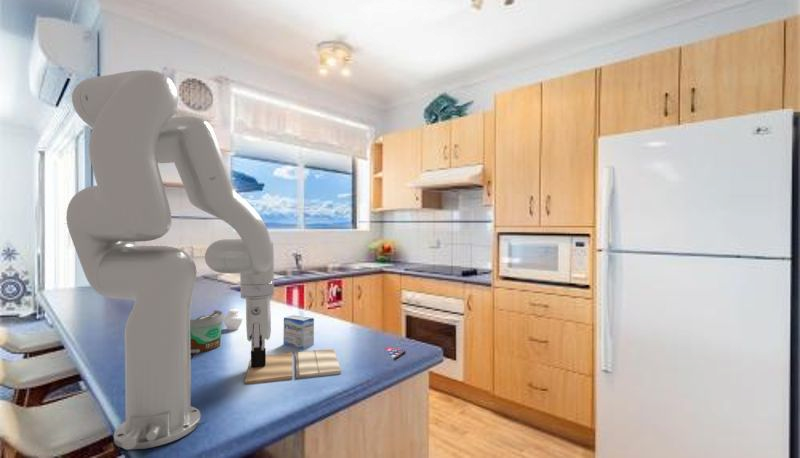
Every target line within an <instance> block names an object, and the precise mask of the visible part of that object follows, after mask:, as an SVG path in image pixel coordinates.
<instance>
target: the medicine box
mask: <svg viewBox="0 0 800 458" xmlns="http://www.w3.org/2000/svg"><path fill="white" fill-rule="evenodd" d="M282 343H283V346H288V347H291V348H297V349H302V350H303V349H304V350H305V349H307V348H309V347H312V346H314V345H315V318H313V317H307V316H303V315H295V314H293V315H289V316H286V317H283V342H282Z"/></svg>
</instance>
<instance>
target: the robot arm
mask: <svg viewBox="0 0 800 458" xmlns="http://www.w3.org/2000/svg"><path fill="white" fill-rule="evenodd" d="M177 91H178V90H177V88H176V85H175V84H174V82H173V81H172V80H171V78H169V77H168V76H167V75H165V74H164V73H161V72H158V71H155V70H149V69H143V70H140V69H138V70H131V71H124V72H119V73H113V74H107V75H102V76H101V75H100V76H94V77H89V78H86V79H84V80H81V81H80V82H79V83H77V84H76V86H75V87H74V88H73V90H72V93H71V103H72V106H73V110H74V111H75V113H77V115H78V117H79V118H80V119H81V120H82V121H83V122H84V123H85V124H86V125H88V126H89V127H90V128H91V132H90V136H89V141H88V153H89V154H88V155H89V160H90V164H91V166H92V170H93V176H94V179H95V182H96V185H92V186H88V187H86V188H82V189H81V190H79V191H78V192H77V193H75V194H74V195H73V197H72V198H71V199H70V200H69V202H68V206H67V207H66V208H67V210H66V224H67V228H68V232H69V235H70V238H71V241H72V244H73V247H74V250H75V251H76V255H77V257H78V260H79V263H80V266H81V268H82V270H83V271H82V272H83V273H84V276H85V278H86V281H87V282H88V284H89V286H90V287H91V288H92V289H93V291H95V292H96V294H98V295H99V296H102V297H104V298H107V299H113V300H121V301H122V300H123V301H125V300H126V301H134V304H133V307H132V309H131V311H130V313H129V316H128V318H127V320H126V323H125V324H126V325H125V328H124V374H125V376H124V391H125V393H124V394H125V395H124V396H125V401H124V402H125V406H124V407H125V408H124V409H125V421H123V422H122V423H121V424H120V425H119V426H118V427H117V428H116V429H115V430H114V433H113V442H114V444H115V445H116V446H117V447H119V448H122V449H124V450H126V451H127V450H129V451H130V450H145V449H152V448H155V447H160V446H163V445H167V444H169V443H172V442H175V441H177V440H179V439H181V438H183V437H185V436H187V435H189V434H190V433H192V432H193V431H194V430H195V429H196V428H197V427H198V426H199V425H200V421H201V417H202V415H201V411H200V410H199V409H198V408H196V407H195V406H192V405H191V403H192V402H191V400H192V398H191V397H192V396H191V394H192V391H191V390H192V388H191V387H192V386H191V385H192V384H191V382H192V381H191V374H192V373H191V367H192V366H191V365H192V364H191V355H190V320H191V312H192V311H191V310H192V302H193V301H192V300H193V295H194V290H195V285H196V282H197V266H196V263H195V261H194V259H193V257H191V256H190V255H189V254H188V253H187V252H185V251H184V250H182V249H180V248H178V247H177V248H176V247H173V246H167V245H137V244H136V243H137V242H150V241H156V240H157V239H158V240H159V239H160V238H162V237H164V236H165V235H167V233H168V232H169V231H170V228H171V226H172V212H171V208H170V203H169V200H168V195H167V193H166V189H165V186H164V185H165V184H164V182H163V178H162V175H161V171H160V167H159V164H171V163H172V164H173V163H174V166H175V168H176V171H177V172H178V176H179V177H180V180H181V182H182V185H183V188H184V191H185V193H186V195H187V198H188V200H189V203H190V204H191V205H192V206H194V207H195V208H197V209H199V210H201V211H203V212H205V213H207V214H208V215H211V216H213V217H216V218H217V219H219V220H221V221H223V222H225V223H226V224H228V225H229V226H230V227H231V228H233V230H234V231H235V232H236V233H237V235H239V237H240V238H236V239H234V238H225V239H219V240H216V241H214V242H212V243H210V245H208V247H207V249H206V251H205V252H204V253H205V254H204V260H205V263H206V266H207V267H208V268H209V269H211V270H212V271H214V272H216V273H220V274H232V275H233V274H235V275H236V274H239V275H240V281H239V283H240V285H239V286H240V298H241V299H242V300H243V299H244V300H245V322H246V323H245V324H246V325H245V326H246V339H247V341H248V342H250V343H251V349H250V362H251V367H252V368H256V367H264V366H265V364H266V355H267V354H266V349H267V348H266V346H265V345H266V344H265V342H266V341H268V340H270V338H271V334H272V322H271V321H272V317H271V314H272V313H271V312H272V311H271V297H273V296H275V275H274V274H275V273H274V272H275V271H274V269H275V267H274V265H275V264H274V263H275V258H274V254H275V253H274V251H275V249H274V243H273V241H272V240H271V237H270V233H269V231H268V228H267V225H266V224H265V221H264V220H263V219H262V217H261V216H260V214H259V213H258V212H257V211H256V209H254V207H253V206H252V205H251V204H250V203H248V202H247V201H246V200H245V199H244V198H243V197H242V196H241V195H239V194H238V192H236V191H235V189H234V187H233V183H232V180H231V177H230V174H229V172H228V169H227V166H226V163H225V160H224V156H223V153H222V151H221V148H220V144H219V141H218V139H217V136H216V133H215V131H214V129H213V127H212V126H211V124H210V123H209V122H208V121H207V120H205V119H203V118H200V117H195V116H174V114H175V113H176V111H177V108H178V105H179V104H178V102H179V98H178V97H179V95H178V92H177ZM173 116H174V117H173Z"/></svg>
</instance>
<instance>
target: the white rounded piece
mask: <svg viewBox="0 0 800 458" xmlns="http://www.w3.org/2000/svg"><path fill="white" fill-rule="evenodd" d="M224 319H225V320H224V321H223V322H224V325H225V327H226V329H227V330H228V331H237V330H238V329H240V326H241V325H242V322H243V320H244V317H243V315H242V314H241V313H240V311H239V309H236V308H232V309H229V310H228V311H227V313H226V315H224Z"/></svg>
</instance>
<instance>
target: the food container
mask: <svg viewBox="0 0 800 458" xmlns="http://www.w3.org/2000/svg"><path fill="white" fill-rule="evenodd" d="M224 317H225V315H224V313H223V311H221V310H215V309H214V310H213V313H210V314H209V315H208V314H207V315H202V316H200V317H197V318H195V319H190V357H192V356H193V357H194V356H196V354H198V353H199V354H200V353H205V352H210V351H212V350H216V349H218V348H220V346H221V337H222V328H223V322H224V320H225V319H224Z"/></svg>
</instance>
